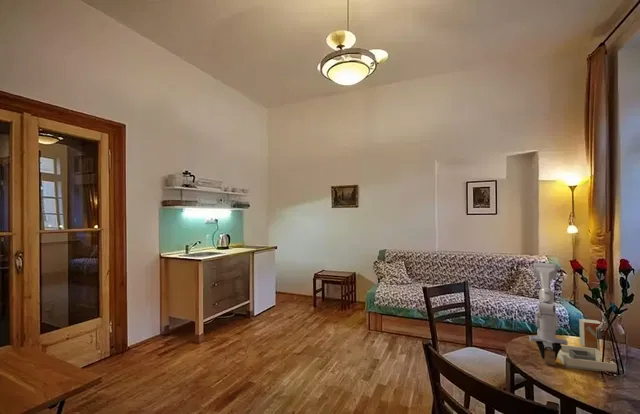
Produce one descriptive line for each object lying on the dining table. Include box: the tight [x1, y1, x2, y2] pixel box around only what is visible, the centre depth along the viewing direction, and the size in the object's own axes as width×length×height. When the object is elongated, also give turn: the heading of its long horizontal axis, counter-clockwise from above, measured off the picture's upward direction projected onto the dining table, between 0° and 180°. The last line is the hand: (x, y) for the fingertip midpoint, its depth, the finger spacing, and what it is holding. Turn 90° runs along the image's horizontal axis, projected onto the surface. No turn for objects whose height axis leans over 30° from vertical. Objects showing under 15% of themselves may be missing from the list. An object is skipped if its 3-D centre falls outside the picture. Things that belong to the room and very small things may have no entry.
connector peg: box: [541, 346, 556, 366], centre depth 147 cm, size 4×4×7 cm
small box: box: [578, 318, 602, 349], centre depth 166 cm, size 8×6×13 cm
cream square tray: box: [557, 344, 618, 373], centre depth 147 cm, size 18×18×4 cm
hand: (548, 358), depth 147 cm, fingers closed on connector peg, 4 cm apart
